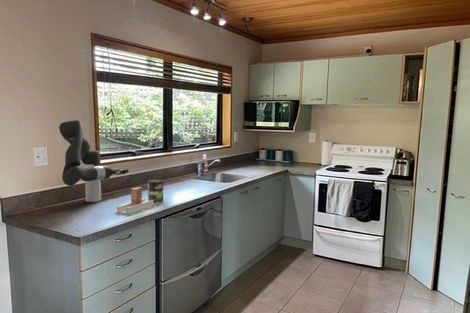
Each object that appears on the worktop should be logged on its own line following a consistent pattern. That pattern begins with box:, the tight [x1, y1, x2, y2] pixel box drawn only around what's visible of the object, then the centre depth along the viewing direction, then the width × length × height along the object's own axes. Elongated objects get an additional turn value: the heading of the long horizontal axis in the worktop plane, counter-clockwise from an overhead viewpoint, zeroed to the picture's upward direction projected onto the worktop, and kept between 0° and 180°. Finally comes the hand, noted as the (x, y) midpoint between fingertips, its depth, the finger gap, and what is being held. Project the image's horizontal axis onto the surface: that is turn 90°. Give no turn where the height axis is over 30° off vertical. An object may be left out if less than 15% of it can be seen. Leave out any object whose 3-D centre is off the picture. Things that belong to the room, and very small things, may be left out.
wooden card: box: [130, 186, 143, 206], centre depth 208 cm, size 6×3×12 cm, turn 152°
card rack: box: [115, 197, 156, 216], centre depth 208 cm, size 22×10×4 cm, turn 153°
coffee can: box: [147, 178, 164, 205], centre depth 226 cm, size 10×10×14 cm
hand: (122, 170), depth 196 cm, fingers open, 8 cm apart
